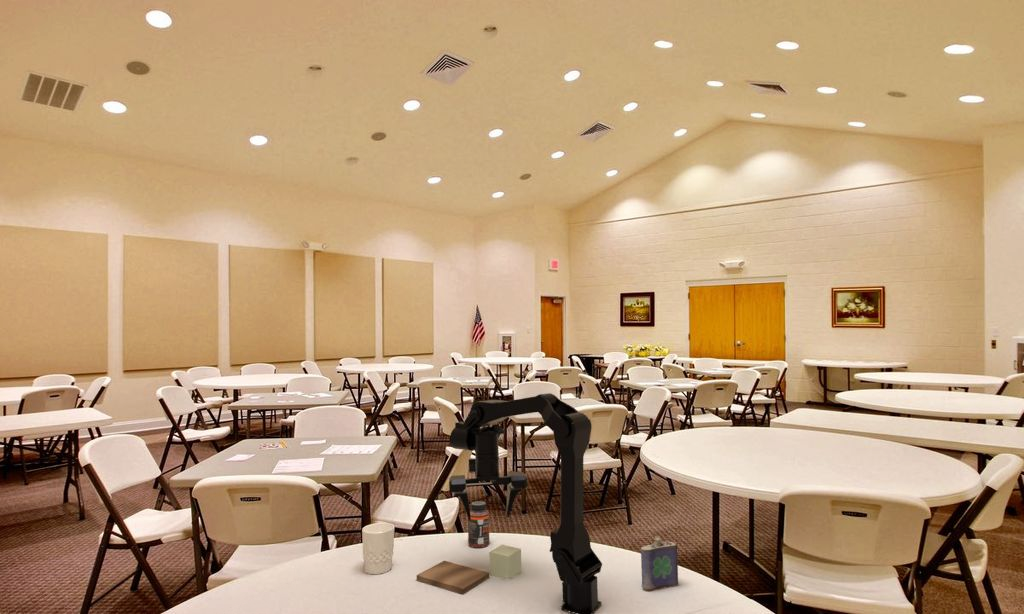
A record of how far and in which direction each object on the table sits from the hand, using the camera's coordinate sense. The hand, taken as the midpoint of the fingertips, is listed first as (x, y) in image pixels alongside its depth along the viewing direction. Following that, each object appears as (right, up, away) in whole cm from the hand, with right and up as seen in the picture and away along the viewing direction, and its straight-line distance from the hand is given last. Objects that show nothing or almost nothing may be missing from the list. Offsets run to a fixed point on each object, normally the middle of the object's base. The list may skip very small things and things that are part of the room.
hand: (488, 518), depth 125 cm
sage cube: (+4, -14, 0) cm, 14 cm away
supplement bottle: (-4, -16, +19) cm, 25 cm away
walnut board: (-8, -13, -3) cm, 16 cm away
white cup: (-28, -15, +4) cm, 32 cm away
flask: (+39, -12, -8) cm, 42 cm away
